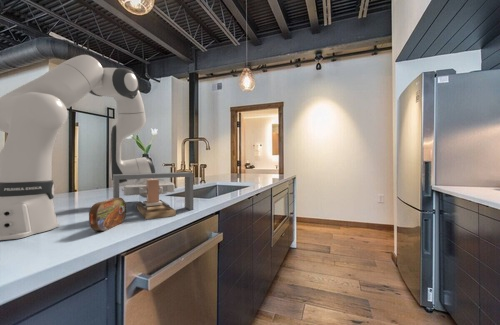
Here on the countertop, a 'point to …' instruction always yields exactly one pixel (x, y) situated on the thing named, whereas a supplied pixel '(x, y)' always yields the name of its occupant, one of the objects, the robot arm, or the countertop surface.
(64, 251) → the countertop surface
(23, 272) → the countertop surface
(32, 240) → the countertop surface
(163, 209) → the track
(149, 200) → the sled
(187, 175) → the archway
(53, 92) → the robot arm
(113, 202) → the tin
